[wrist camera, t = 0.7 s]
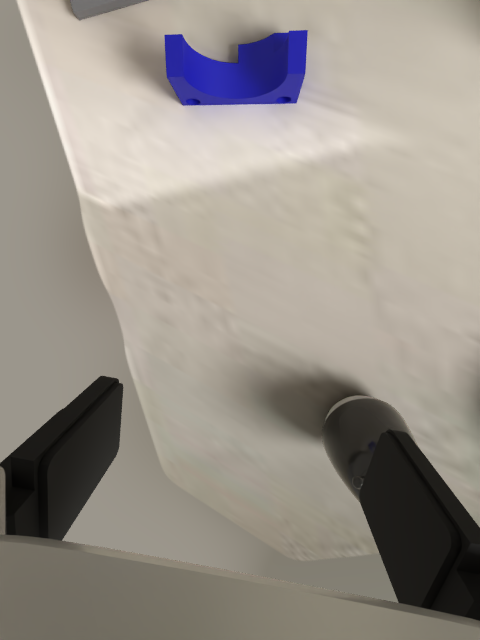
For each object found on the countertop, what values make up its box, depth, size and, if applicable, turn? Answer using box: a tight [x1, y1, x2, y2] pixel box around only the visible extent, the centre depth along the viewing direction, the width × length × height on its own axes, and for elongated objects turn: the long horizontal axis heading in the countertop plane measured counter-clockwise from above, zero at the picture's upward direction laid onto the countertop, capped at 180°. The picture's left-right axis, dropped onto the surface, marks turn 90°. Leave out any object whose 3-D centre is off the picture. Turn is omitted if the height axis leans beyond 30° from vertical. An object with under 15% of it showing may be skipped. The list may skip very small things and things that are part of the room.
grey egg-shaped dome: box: [322, 395, 418, 502], centre depth 33 cm, size 10×10×15 cm
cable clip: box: [165, 30, 308, 105], centre depth 28 cm, size 12×4×6 cm, turn 90°
